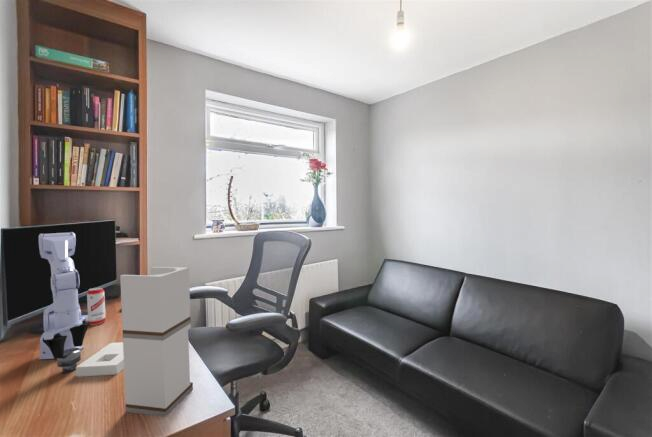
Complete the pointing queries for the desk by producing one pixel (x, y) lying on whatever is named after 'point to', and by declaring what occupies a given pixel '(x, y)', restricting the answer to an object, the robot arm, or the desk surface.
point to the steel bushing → (69, 360)
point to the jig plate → (103, 362)
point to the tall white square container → (156, 339)
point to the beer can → (96, 306)
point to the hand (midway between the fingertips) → (68, 351)
